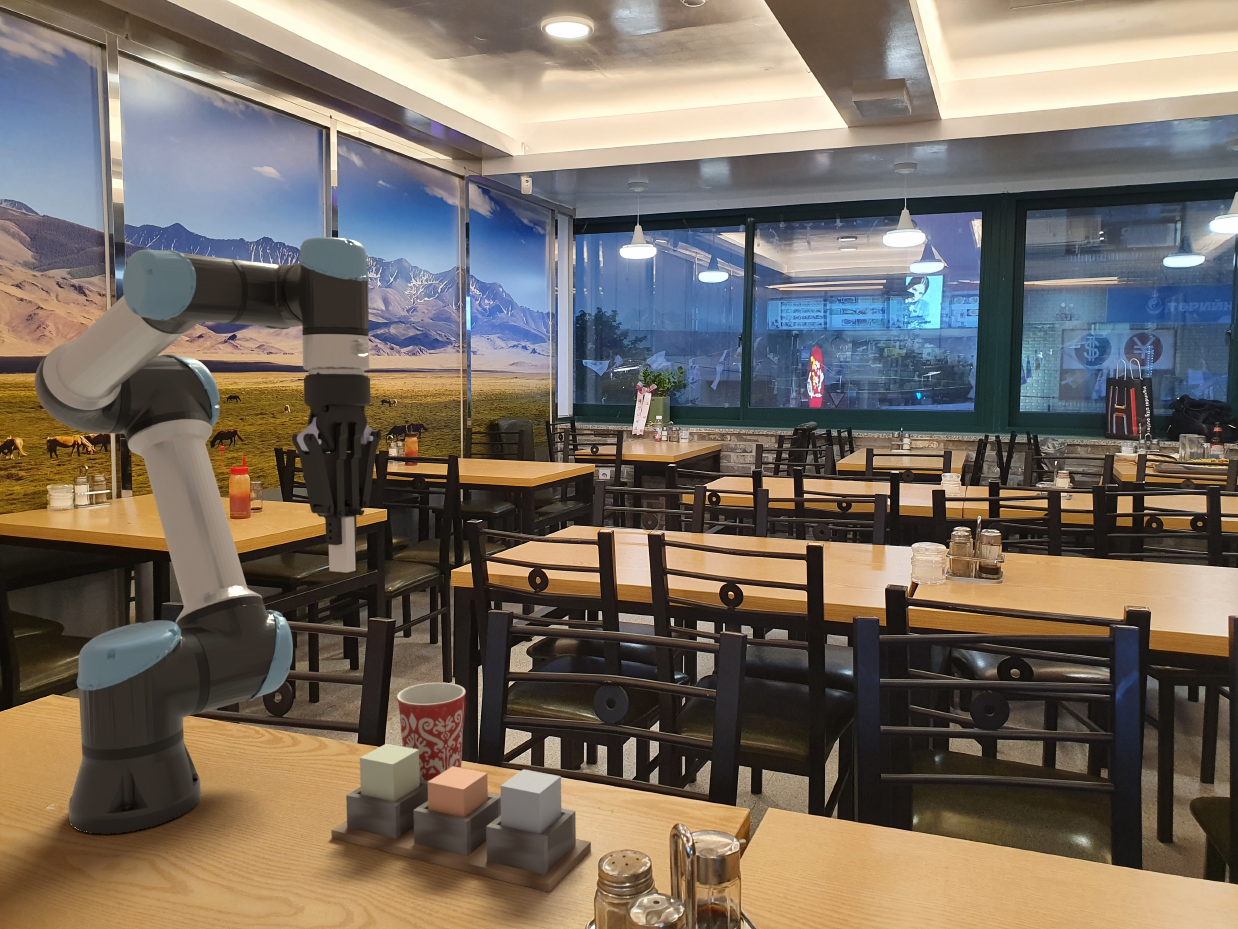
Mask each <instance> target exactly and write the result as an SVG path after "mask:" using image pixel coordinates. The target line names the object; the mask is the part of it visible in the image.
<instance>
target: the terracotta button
mask: <svg viewBox="0 0 1238 929" xmlns="http://www.w3.org/2000/svg"><path fill="white" fill-rule="evenodd" d="M488 781H489V780H488V772H484V771H478V770H474V769H467V768H463V767H461V768H459V767H454V766H452V767H451V768H449V769H448V770H446V771H444V772H443V773H441V774H440V775H438V776H436V777H435V778H433V779H432V780H430V781H428V810H432V811H437V812H441V813H446V814H450V815H455V816H459V817H464V818H465V817H467V816H468V815H469V814H471V813H472V812H473V811H475V810H476V809H477V808H479V807H480V806H482V805H483V804H484V803H486V802H487V801H488V793H489V792H488V788H489V787H488V784H489V783H488Z"/></svg>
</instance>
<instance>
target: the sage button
mask: <svg viewBox="0 0 1238 929" xmlns="http://www.w3.org/2000/svg"><path fill="white" fill-rule="evenodd" d="M359 771H360V772H359V773H360V775H359V776H360V778H359V779H360V787H361V795H364V796H369V797H373V798H378V799H382V800H387V801H391V802H396V801H397V800H399V799H400V798H402V797H403V796H405V795H407V794H408V793H410V792H411V791H413V790H415V789H416V788H418V787H419V786H420V776H419V750H418V749H413V748H407V747H402V745H396V744H391V743H385V744H383V745H381V746H379V747H378V748H376V749H374V750H372V751H369V752H368V753H366V754H364V755H362V756H360V757H359Z"/></svg>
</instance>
